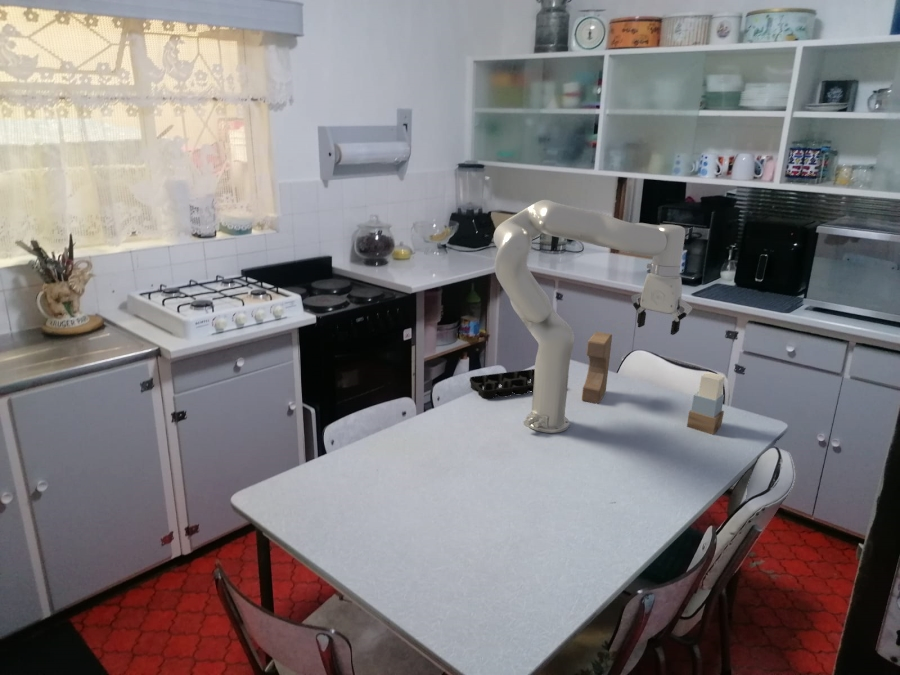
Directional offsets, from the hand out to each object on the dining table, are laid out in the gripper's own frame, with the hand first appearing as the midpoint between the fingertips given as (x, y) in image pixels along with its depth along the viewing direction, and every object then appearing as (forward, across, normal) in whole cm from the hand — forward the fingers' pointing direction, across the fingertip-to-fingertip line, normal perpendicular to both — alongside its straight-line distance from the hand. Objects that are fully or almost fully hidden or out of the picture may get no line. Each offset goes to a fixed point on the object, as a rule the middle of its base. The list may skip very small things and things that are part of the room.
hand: (657, 330), depth 184 cm
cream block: (+18, +14, +9) cm, 25 cm away
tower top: (+24, +14, +9) cm, 29 cm away
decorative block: (+28, -20, +6) cm, 35 cm away
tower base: (+28, +14, +9) cm, 33 cm away
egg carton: (+29, -42, -6) cm, 52 cm away
